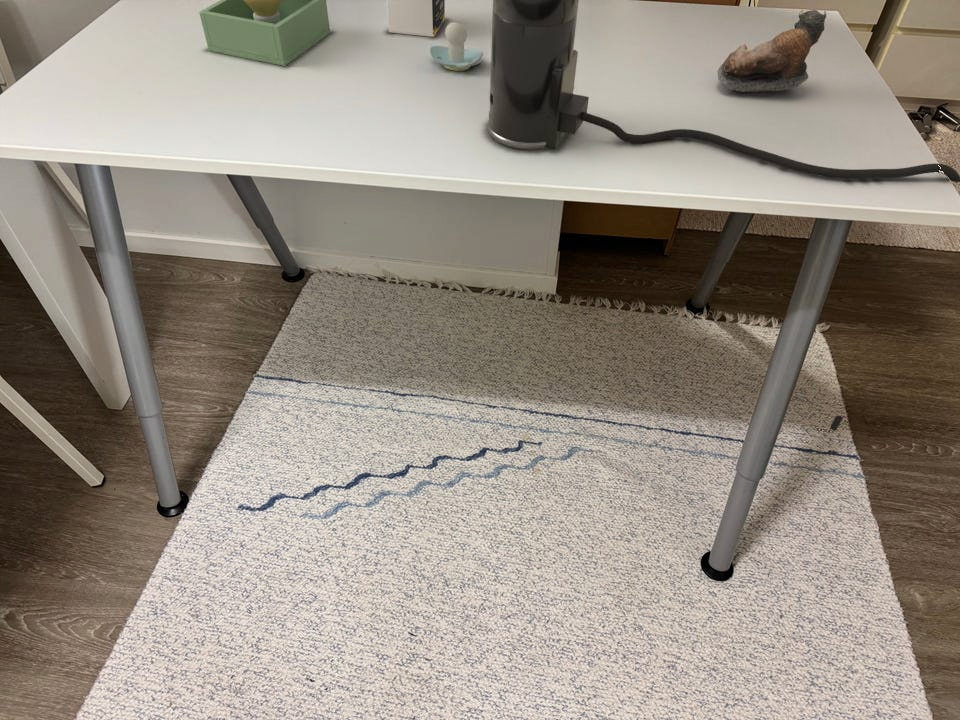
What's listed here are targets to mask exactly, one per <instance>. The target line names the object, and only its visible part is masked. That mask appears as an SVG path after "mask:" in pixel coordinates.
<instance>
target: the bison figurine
mask: <svg viewBox="0 0 960 720" xmlns="http://www.w3.org/2000/svg"><path fill="white" fill-rule="evenodd" d="M798 18H799V19H798V21H797V22H795V23H794V25H793V26H794V28H790V29H787V30H785V31H781V32H780V33H778V34H777V35H776V36H775V37H774V38H772V39H770V40H767V41H765V42H762V43H760V44H758V45H756V46H755V47H754V48H752V49H748V46H747V44H745V43H743V44H741V45H739V46H738V47H737V48H736V49H735V50H734V51H732V52H730V53H729V55H728V56H727V57H726V59H724V61H723V63H722V64H721V65H720V66H719V68H718V69H717V78H718V81H719V84H721V85H722V86H723V88H724V89H727V90H730V91H731V90H732V91H734V92H735V91H736V92H741V93H742V92H743V93H745V92H747V93H761V92H762V93H763V92H780V91H786V90H791V89H795V88H798V87H799V86H801V85H802V84H803V83H804V82H806V81H807V80H808V79H809V74H808V72H807V69H808V65H807V62H806V59H807V57H808V56H809V54H810V51H811V48H812V47H813V46H814V45H815V44H817V43H818V42H819V40H820V38H821V36H822V34H823V32H824V31H825V22H826V21H825V20H826V18H827V11H826V10H824V11H823V13H821V12H820V11H818V10H816V9H810V10H807V11H804V9H802V10H801V11H800V12H799V13H798Z"/></svg>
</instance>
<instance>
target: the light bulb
mask: <svg viewBox="0 0 960 720" xmlns="http://www.w3.org/2000/svg"><path fill="white" fill-rule="evenodd" d="M244 1H245V2H246V4H247V5H248V6H249V7H250V8H251V9H252V10H253V11H254V13H253V18H254V20H256V21H262V22H267V23H272V24H277V23H279V22H280V21H281V19H280V13H279V11H278V7H279V5H280V3H281V1H282V0H244Z"/></svg>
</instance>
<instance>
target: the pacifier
mask: <svg viewBox="0 0 960 720" xmlns="http://www.w3.org/2000/svg"><path fill="white" fill-rule="evenodd" d="M444 32H445V33H444V35H445V38H446V40H447V42H448V47H446V46H442V45H434V46H431V47H430V48H429V54H430V56H431V58H432V59H433V61H435V62H436V63H438V64H439V65H442V66H443V67H444V68H445V69H447V70H451V71H456V72H459V71H460V72H461V71H466V70H469V69H470V68H471V67H473V66H477V65H479V64H481V63H482V62H483V59H482V57H483V55H484V51H483V50H481V49H480V50H478V49H465V43H466V41H467V40H468V31H467V29H466V27H465V26H464V25H463V24H461V23H460V22H457V21H455V22H454V21H453V22H450V23H448V24H447V26H446V27H445V31H444Z"/></svg>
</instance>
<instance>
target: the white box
mask: <svg viewBox="0 0 960 720" xmlns="http://www.w3.org/2000/svg"><path fill="white" fill-rule="evenodd" d="M445 10H446V6H445V0H386V11H387V12H386V13H387V27H388V32H389V33H390V34H401V35H411V36H420V37H429V38H432V37H435V36H436V34H437V33H438V31H439V30H440V27H441V26H442V25H443V23H444V21H445V19H446V11H445Z"/></svg>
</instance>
